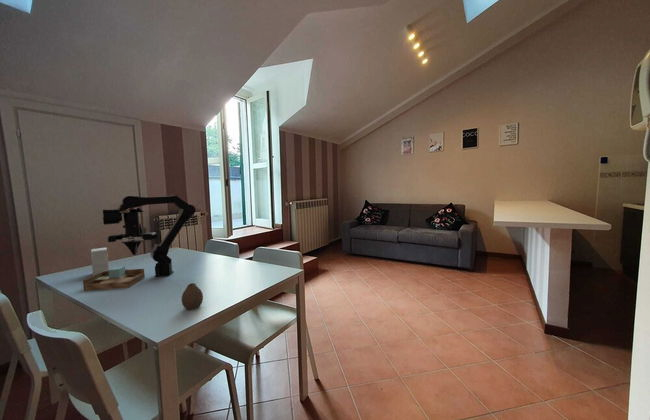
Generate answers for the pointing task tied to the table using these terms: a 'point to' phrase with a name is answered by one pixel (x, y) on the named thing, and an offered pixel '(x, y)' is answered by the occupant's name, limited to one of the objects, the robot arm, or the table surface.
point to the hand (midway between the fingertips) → (134, 254)
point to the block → (116, 272)
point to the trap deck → (113, 280)
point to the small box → (99, 260)
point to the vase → (192, 297)
